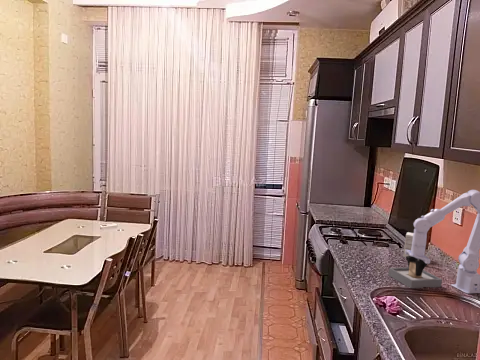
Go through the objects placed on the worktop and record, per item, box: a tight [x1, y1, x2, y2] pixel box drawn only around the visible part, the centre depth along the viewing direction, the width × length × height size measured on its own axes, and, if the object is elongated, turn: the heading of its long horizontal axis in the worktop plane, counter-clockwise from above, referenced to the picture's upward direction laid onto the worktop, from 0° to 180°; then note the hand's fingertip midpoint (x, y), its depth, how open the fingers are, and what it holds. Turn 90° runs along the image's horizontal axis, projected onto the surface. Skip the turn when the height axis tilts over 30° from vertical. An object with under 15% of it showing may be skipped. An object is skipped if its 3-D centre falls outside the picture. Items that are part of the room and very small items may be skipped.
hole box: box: [387, 266, 443, 289], centre depth 192 cm, size 16×16×4 cm
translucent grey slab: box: [418, 250, 432, 260], centre depth 218 cm, size 7×2×8 cm, turn 68°
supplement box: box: [402, 231, 414, 258], centre depth 231 cm, size 7×7×13 cm
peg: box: [408, 262, 422, 278], centre depth 192 cm, size 4×4×7 cm
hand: (414, 273), depth 192 cm, fingers closed on peg, 4 cm apart
